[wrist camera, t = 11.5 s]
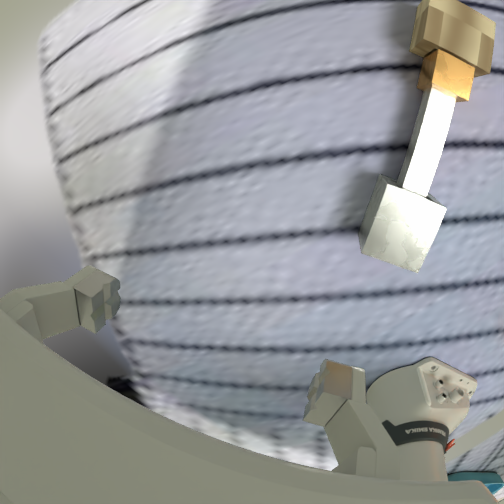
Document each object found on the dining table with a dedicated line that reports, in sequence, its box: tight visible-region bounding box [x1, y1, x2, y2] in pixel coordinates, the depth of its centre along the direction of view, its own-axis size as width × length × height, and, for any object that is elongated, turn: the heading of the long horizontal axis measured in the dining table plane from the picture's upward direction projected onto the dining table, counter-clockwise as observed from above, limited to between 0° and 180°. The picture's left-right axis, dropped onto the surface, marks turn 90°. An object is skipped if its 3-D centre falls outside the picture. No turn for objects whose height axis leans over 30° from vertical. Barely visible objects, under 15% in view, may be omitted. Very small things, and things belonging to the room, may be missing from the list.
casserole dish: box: [447, 472, 504, 494], centre depth 54 cm, size 37×22×7 cm, turn 72°
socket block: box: [409, 0, 496, 78], centre depth 20 cm, size 8×7×6 cm
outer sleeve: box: [358, 174, 447, 273], centre depth 31 cm, size 7×8×6 cm
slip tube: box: [396, 49, 475, 198], centre depth 25 cm, size 4×19×6 cm, turn 167°
